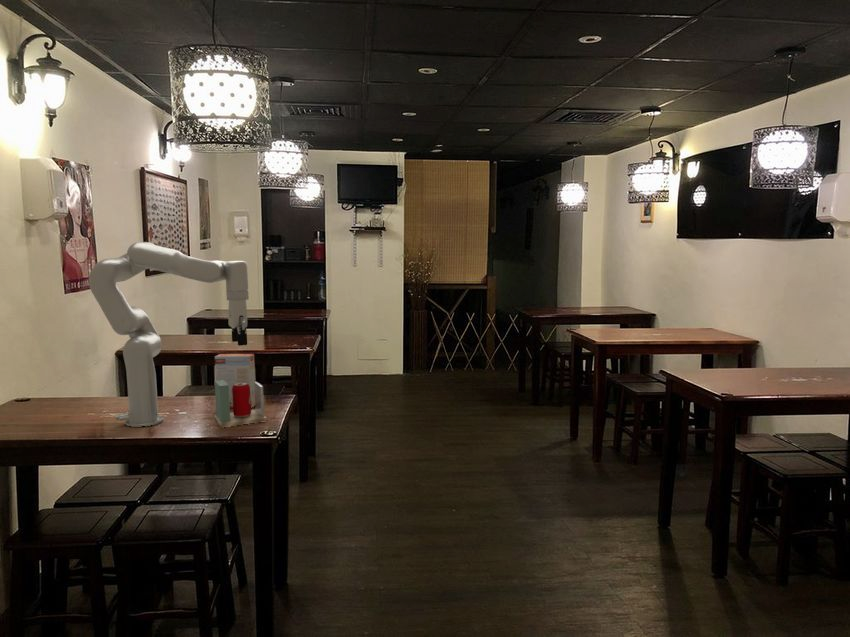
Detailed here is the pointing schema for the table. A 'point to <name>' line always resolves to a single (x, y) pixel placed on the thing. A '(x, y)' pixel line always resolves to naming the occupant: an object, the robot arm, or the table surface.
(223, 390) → the grey green slab
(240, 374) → the cracker box
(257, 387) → the grey metal plate
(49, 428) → the table surface
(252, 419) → the shelf board
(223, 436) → the table surface
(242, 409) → the beverage can
